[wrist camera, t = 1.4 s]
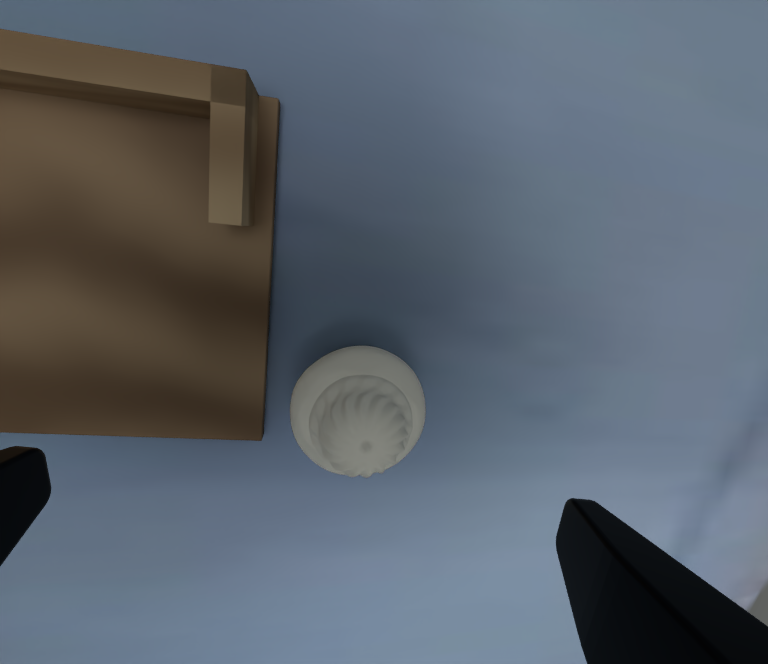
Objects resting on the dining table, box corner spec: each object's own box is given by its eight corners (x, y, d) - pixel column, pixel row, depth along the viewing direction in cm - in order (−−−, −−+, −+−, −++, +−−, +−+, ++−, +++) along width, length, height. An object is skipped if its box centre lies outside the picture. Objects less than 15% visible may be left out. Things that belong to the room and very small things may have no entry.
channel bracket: (263, 433, 22) (251, 473, 19) (-39, 422, 20) (-120, 465, 16) (280, 103, 19) (269, 73, 15) (-86, 46, 17) (-202, -5, 13)
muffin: (431, 361, 23) (477, 417, 16) (375, 454, 24) (396, 544, 17) (329, 306, 21) (331, 343, 15) (273, 408, 22) (251, 487, 15)
